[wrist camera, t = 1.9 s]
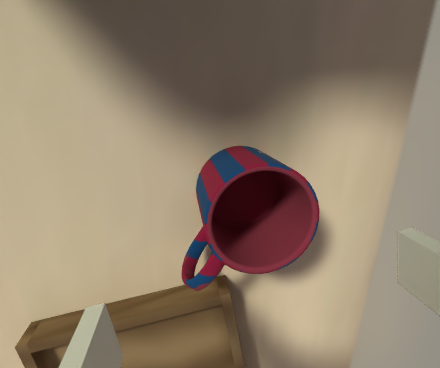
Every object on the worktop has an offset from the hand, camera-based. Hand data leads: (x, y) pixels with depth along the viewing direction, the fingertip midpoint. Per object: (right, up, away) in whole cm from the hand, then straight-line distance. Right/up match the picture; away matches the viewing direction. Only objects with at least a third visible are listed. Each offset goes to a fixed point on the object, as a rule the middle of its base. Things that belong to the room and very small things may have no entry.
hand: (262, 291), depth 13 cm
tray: (-8, -12, +13) cm, 19 cm away
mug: (-2, +3, +10) cm, 11 cm away
